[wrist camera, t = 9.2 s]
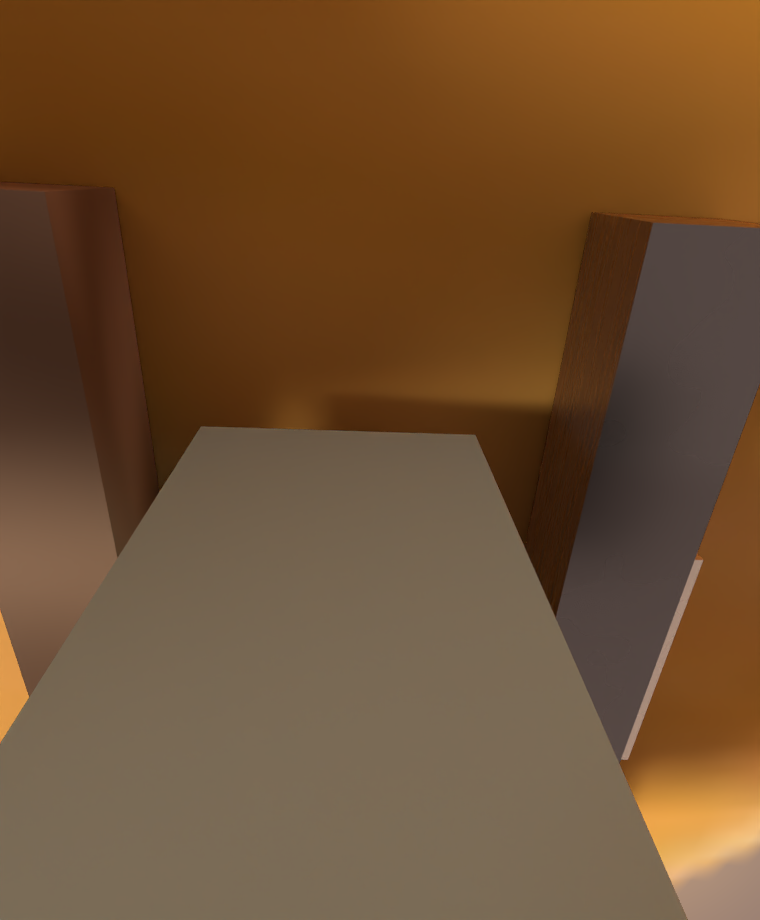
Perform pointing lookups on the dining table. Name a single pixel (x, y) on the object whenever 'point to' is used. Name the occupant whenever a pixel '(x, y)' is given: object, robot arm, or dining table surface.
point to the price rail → (642, 442)
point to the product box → (321, 709)
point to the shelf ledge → (65, 412)
